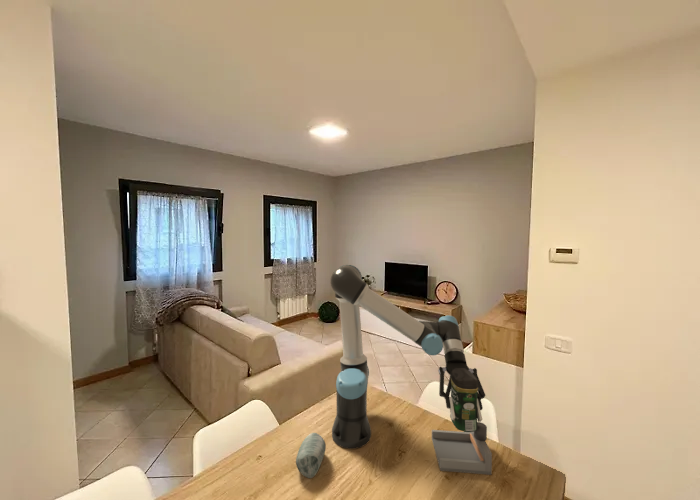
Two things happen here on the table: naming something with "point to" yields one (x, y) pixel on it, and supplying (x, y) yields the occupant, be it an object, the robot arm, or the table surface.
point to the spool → (310, 455)
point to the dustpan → (463, 450)
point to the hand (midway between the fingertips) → (466, 419)
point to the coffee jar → (464, 399)
